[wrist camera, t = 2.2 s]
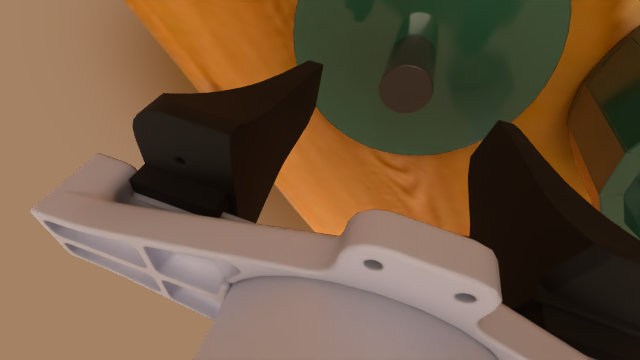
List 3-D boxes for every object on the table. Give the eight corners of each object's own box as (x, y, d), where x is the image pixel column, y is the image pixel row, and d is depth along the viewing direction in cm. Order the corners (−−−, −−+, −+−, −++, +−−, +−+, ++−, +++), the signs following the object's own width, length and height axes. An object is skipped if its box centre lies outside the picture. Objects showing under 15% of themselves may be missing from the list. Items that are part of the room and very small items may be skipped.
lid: (520, 150, 19) (532, 204, 16) (320, 141, 23) (300, 182, 20) (628, -160, 10) (699, -168, 7) (273, -84, 14) (226, -69, 12)
